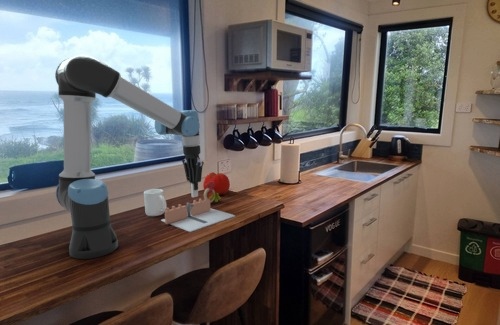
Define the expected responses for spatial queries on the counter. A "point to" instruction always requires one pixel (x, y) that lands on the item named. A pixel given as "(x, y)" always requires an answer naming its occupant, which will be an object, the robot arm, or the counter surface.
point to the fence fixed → (177, 213)
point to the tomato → (218, 182)
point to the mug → (154, 202)
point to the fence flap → (200, 206)
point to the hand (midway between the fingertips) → (194, 196)
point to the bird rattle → (211, 192)
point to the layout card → (201, 220)
